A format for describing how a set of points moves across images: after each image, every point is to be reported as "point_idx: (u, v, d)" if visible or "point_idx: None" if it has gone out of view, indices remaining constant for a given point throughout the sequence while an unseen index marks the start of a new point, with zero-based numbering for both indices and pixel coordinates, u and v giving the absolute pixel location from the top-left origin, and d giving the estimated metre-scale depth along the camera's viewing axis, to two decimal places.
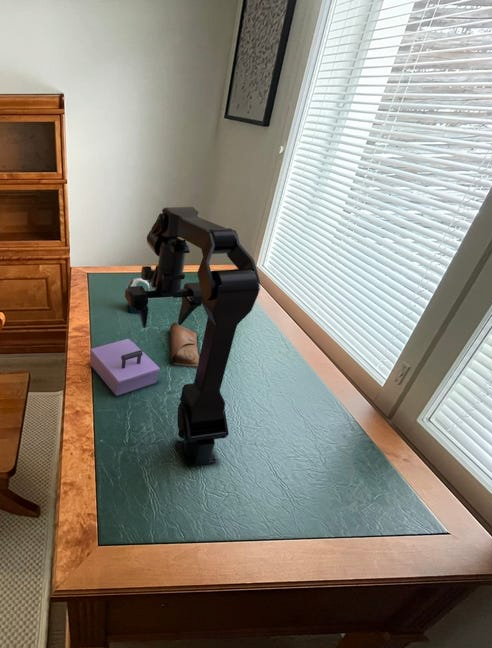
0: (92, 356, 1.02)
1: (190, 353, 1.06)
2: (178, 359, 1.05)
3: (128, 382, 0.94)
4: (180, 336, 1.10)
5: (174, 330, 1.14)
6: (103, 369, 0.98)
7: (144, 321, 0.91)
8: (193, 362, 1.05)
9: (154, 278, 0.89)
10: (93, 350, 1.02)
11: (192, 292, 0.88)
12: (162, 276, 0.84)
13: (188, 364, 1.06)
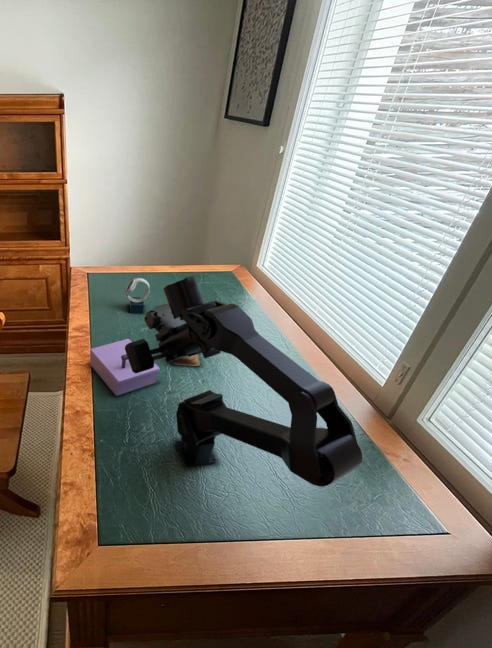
0: (92, 356, 1.02)
1: None
2: (177, 359, 1.05)
3: (128, 382, 0.94)
4: None
5: None
6: (103, 369, 0.98)
7: None
8: (193, 361, 1.05)
9: (163, 336, 0.76)
10: (93, 350, 1.02)
11: None
12: (177, 353, 0.73)
13: (187, 364, 1.06)
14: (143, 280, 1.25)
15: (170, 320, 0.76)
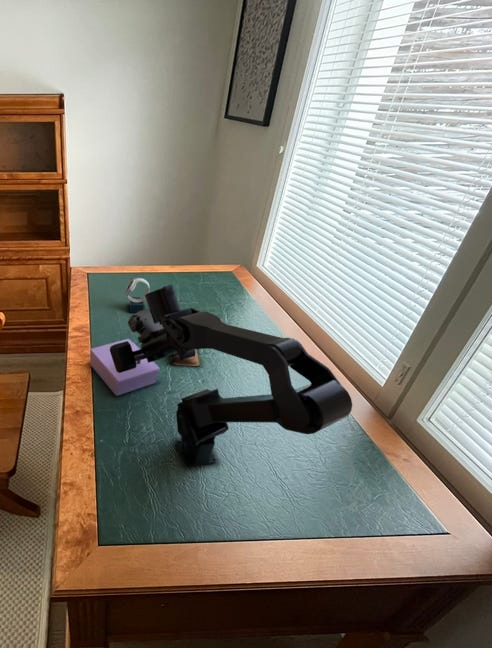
0: (92, 356, 1.02)
1: None
2: (177, 359, 1.05)
3: (128, 382, 0.94)
4: None
5: None
6: (103, 369, 0.98)
7: None
8: (192, 361, 1.05)
9: (144, 339, 0.82)
10: (93, 350, 1.02)
11: None
12: (157, 354, 0.80)
13: (187, 364, 1.06)
14: (143, 280, 1.25)
15: (151, 324, 0.83)
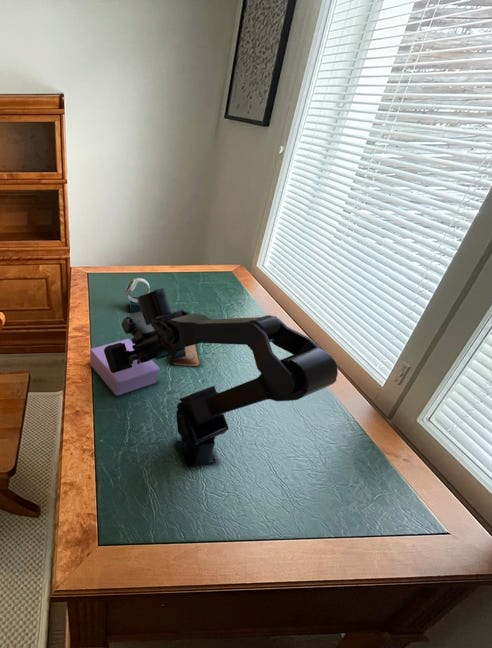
0: (92, 356, 1.02)
1: (189, 353, 1.06)
2: (177, 359, 1.05)
3: (128, 382, 0.94)
4: None
5: None
6: (103, 369, 0.98)
7: None
8: (192, 361, 1.05)
9: (137, 340, 0.85)
10: (93, 350, 1.02)
11: None
12: (149, 355, 0.83)
13: (187, 364, 1.06)
14: (143, 280, 1.25)
15: (144, 326, 0.86)
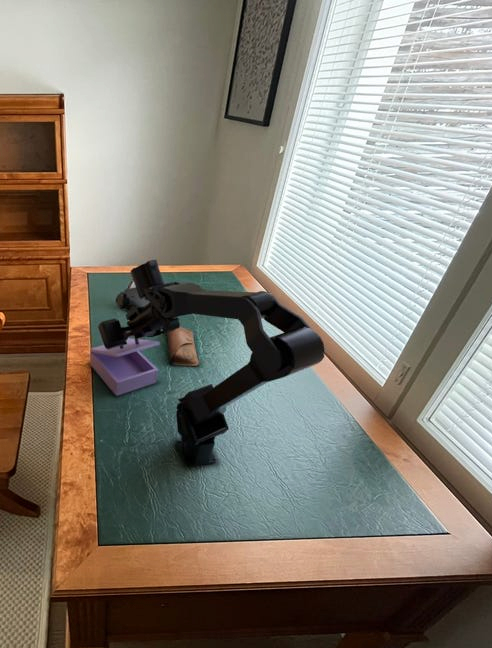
0: (92, 356, 1.02)
1: (188, 353, 1.06)
2: (176, 359, 1.05)
3: (128, 382, 0.94)
4: (177, 336, 1.10)
5: None
6: (103, 369, 0.98)
7: None
8: (192, 361, 1.06)
9: (131, 315, 0.85)
10: (93, 348, 1.02)
11: None
12: (143, 329, 0.82)
13: (186, 364, 1.06)
14: None
15: (138, 301, 0.85)
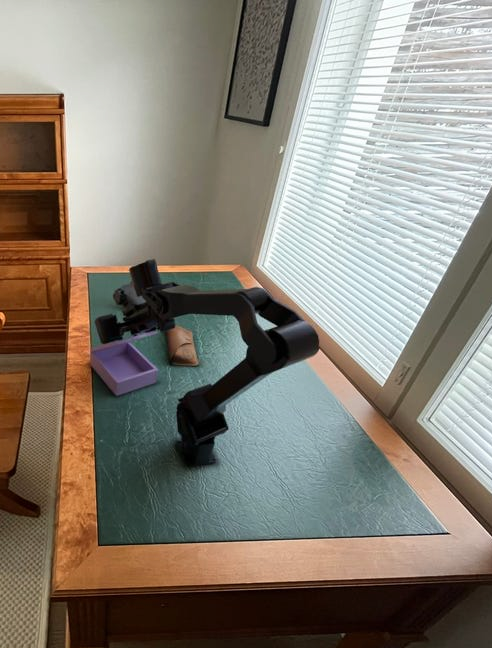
0: (92, 356, 1.02)
1: (188, 353, 1.07)
2: (176, 359, 1.05)
3: (128, 382, 0.94)
4: (177, 336, 1.10)
5: (170, 330, 1.14)
6: (103, 369, 0.98)
7: None
8: (191, 361, 1.06)
9: (128, 312, 0.86)
10: None
11: None
12: (139, 327, 0.83)
13: (186, 364, 1.06)
14: None
15: (135, 298, 0.86)
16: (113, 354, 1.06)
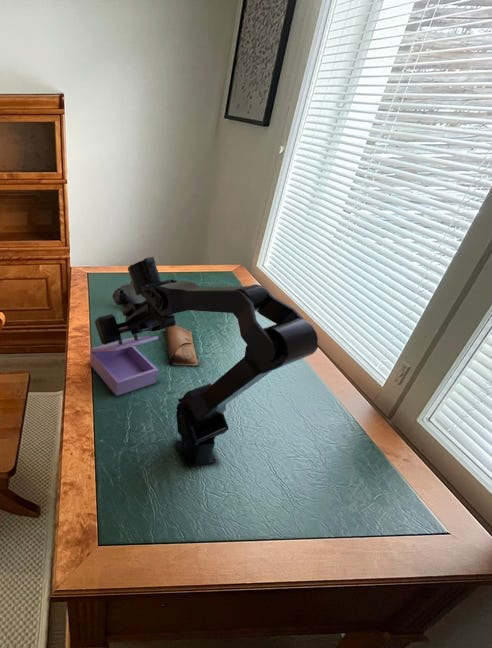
0: (92, 356, 1.02)
1: (188, 353, 1.07)
2: (176, 359, 1.05)
3: (128, 382, 0.94)
4: (176, 336, 1.10)
5: (170, 330, 1.14)
6: (103, 369, 0.98)
7: None
8: (191, 361, 1.06)
9: (128, 311, 0.85)
10: (92, 348, 1.02)
11: None
12: (139, 326, 0.83)
13: (186, 364, 1.06)
14: None
15: (135, 297, 0.86)
16: (113, 354, 1.06)
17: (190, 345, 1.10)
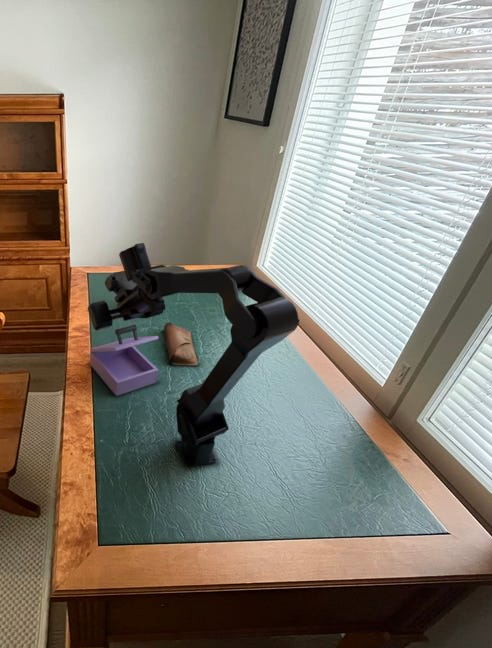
0: (92, 356, 1.02)
1: (187, 353, 1.07)
2: (176, 359, 1.05)
3: (128, 382, 0.94)
4: (175, 336, 1.10)
5: (169, 330, 1.14)
6: (103, 369, 0.98)
7: None
8: (191, 361, 1.06)
9: (120, 298, 0.87)
10: (92, 348, 1.02)
11: None
12: (131, 311, 0.85)
13: (186, 363, 1.06)
14: None
15: (127, 284, 0.88)
16: (113, 354, 1.06)
17: (189, 345, 1.10)
